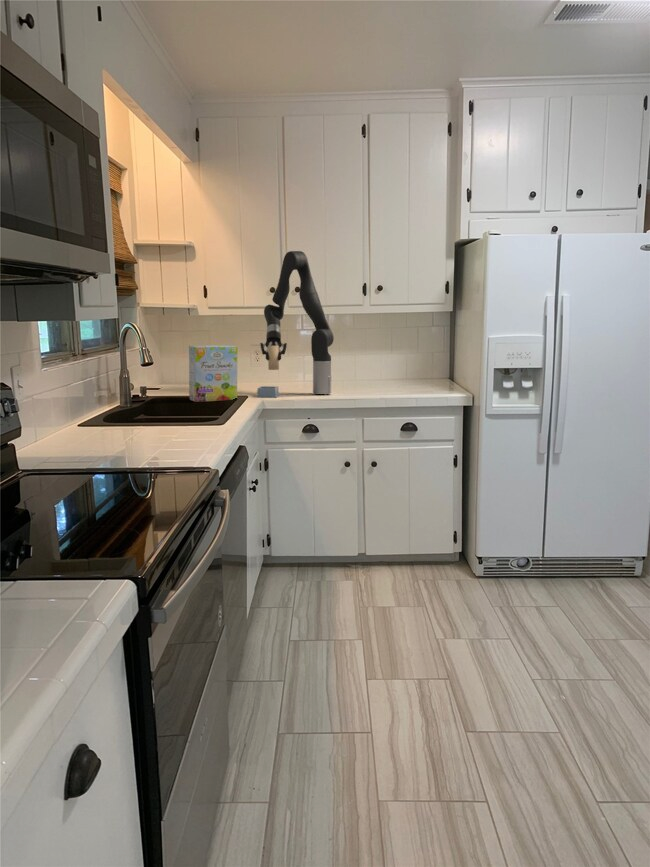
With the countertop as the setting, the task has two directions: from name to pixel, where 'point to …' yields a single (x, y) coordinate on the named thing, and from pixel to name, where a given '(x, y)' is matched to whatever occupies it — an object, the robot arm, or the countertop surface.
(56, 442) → the countertop surface
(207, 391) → the snack box
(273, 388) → the roll holder
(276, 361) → the paper roll
